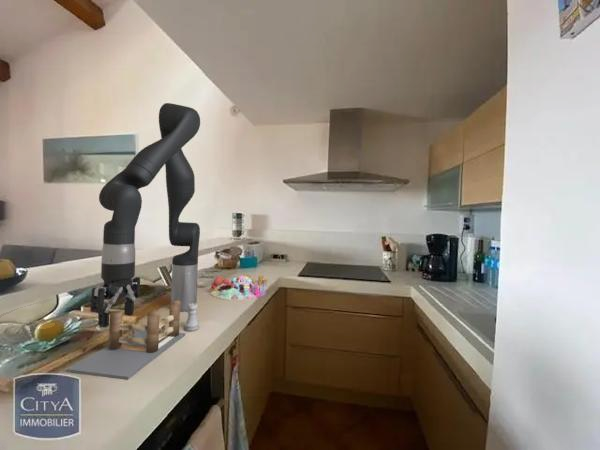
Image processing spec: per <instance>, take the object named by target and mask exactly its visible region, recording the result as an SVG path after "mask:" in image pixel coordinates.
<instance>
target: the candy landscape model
mask: <svg viewBox="0 0 600 450" xmlns="http://www.w3.org/2000/svg"><path fill="white" fill-rule="evenodd" d="M257 279H258V280H257ZM257 279H256V278H254V277H252V276H250V274H247V273H246V274H243V275H242V274H241V275H239V276H238V277H233V278H232V279H231V280H230V281H229V279H228V278H223V277H222V276H216V277H215V278H214V279H213V282H212V283H211V285H210V286H211V287H210V288H209V290H210V295H211V296H212V297H214V298H216V299H219V300H225V301H243V300H245V299H257V298H258V299H259V298H260V297H262V296H265V295H266V294H267V290H266V286H267V283H268V281H269V280H268V278H265V279H264V275H263V274H259V275H258V278H257ZM223 284H224V285H223ZM219 286H220V287H219ZM217 287H219V288H217Z"/></svg>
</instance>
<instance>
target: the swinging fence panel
mask: <svg viewBox="0 0 600 450" xmlns="http://www.w3.org/2000/svg"><path fill="white" fill-rule="evenodd" d="M146 330H147V324H137V323H136V324H135V323H134V322H130V323H123V311H122V310H115V311H111V312H109V330H108V332H109V334H108V335H109V337H108V346H109V348H110V349H116V348H119V347H121V346H122V343H128V344H133V343H135V344H146V343H147V338H139V337H134V331H146ZM123 331H127V335H128V337H125V336H126V335H125V336H123Z"/></svg>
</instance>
